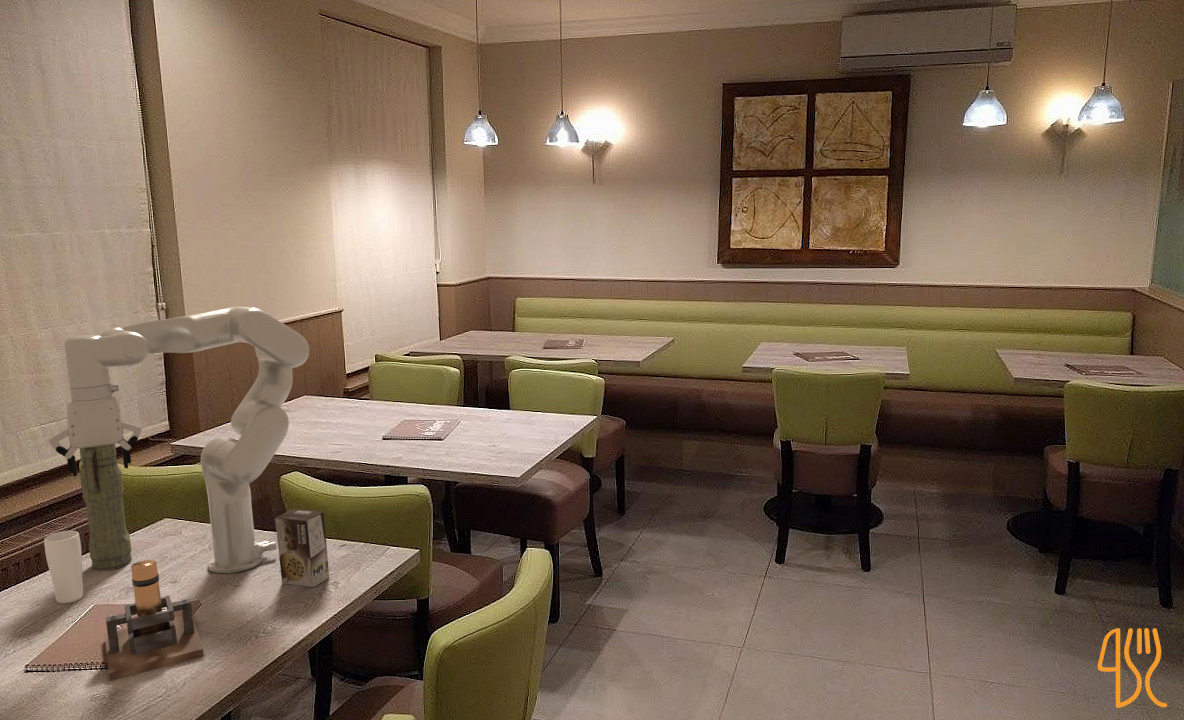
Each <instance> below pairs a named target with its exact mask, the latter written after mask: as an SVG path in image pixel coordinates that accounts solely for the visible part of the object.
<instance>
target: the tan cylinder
mask: <svg viewBox="0 0 1184 720" xmlns="http://www.w3.org/2000/svg"><path fill="white" fill-rule="evenodd" d="M157 563H158V561H156V560H154V559H146V560H145V559H144V560H140V561H137V562H135V563H133V564H131V566H130V571H131V581H132V582H131V583H132V586H133V594H134V603H136V611H137V614H136V617H140V616H145V615H149V614H153V613H157V612H162V611H163V608H162V605H161V591H160V574H159V572H158V564H157ZM161 631H165V630H164V623H160V624H156V625H152V626H148V627H143V628H139V636H144V635H149V634H153V633H157V632H161Z"/></svg>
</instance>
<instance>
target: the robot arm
mask: <svg viewBox="0 0 1184 720" xmlns="http://www.w3.org/2000/svg"><path fill="white" fill-rule="evenodd" d="M236 343H237V344H238V343H245V344H249V345H251V346H253V347H254V352H255V355H256V358H257V362H258V374H257V377H256V379H255V381H254V382H253V384H252V386H251V387H250V389H249V390H248V392H247V393H246V394H245V396H244V397H243V399H242V400H241V402H240V403H239V404H238V406H237V408H236V409H235V411H234V412H233V413H232V416H231V418H230V419H231V420H230V425H231V428H232V430H233V431H234V433H236V434H237V435H238V436H240V437H239V438H238V439H235V438H232V437H227V436H220V437H216V438H213V439H212V440H211V439H210V440H209V441H208V442H207V443H206V444H205V445H204V447H203V448H202V451H201V454H200V468H201V470H202V473H203V479H204V482H205V488H206V493H207V500H208V510H209V511H208V512H209V518H210V529H211V531H210V532H211V538H212V540H211V541H212V548H213V557H212V558H211V559H209V561H207V568H208V570H209V571H211V572H213V573H215V574H216V573H217V574H232V573H233V574H234V573H238V572H243V571H246V570H249V569H252V568H255V567H257V566H258V565H259V564H262V562H263V561H264V552H270V551H275V550H277V543H276V541H273V542H269V541H268V540H266V541H262V542H258V541H257V540H256V537H255V526H254V518H253V509H252V508H253V507H252V494H251V493H252V492H251V487H250V484H251V483H252V482H254V481H256V479H258V477H260V476H261V474H262V473H263V472H264V471H265V470H266V467H267V466H268V465H269V463H270V462H271V460H272V459H273V457H274V455H275V454H276V453H277V451H278V449H279V448H280V446H281V445H282V444H283V442H284V440H285V438H286V436H287V435H288V431H289V426H290V424H289V423H290V420H289V416H288V414H287V412H286V411H285V410H284V409H283V408H282V407H283V405H284V404H285V401H286V399H288V397H289V394H290V392H291V391H292V390H291V389H292V387H293V383H294V382H293V379H294V377H293V376H294V375H293V369H294V368H298V367H300V366H302V365H303V364H305V363H306V361H307V360H308V358H309V355H310V345H309V343H308V341H307V340H306V338H305V337H304V336H303V335H302V334H300V333H299V332H297V331H296V330H295V329H292V328H291V327H289V326H288V325H287V324H285V323H283V322H282V321H280V320H279V319H277V318H275V317H274V316H272V315H270V314H269V313H268V312H266V311H264V310H262V309H260V308H256V307H249V306H230V307H226V308H225V307H224V308H221V309H216V310H215V309H214V310H210V311H205V312H199V313H194V314H188V315H184V316H183V315H181V316H177V317H170V318H166V319H165V318H164V319H159V320H158V319H157V320H151V321H144V322H139V323H138V322H137V323H133V324H128V325H123V326H116V327H113V328H109V329H106V330H104V331H103V332H101V333H100V334H99V335H98V334H84V335H83V334H81V335H75V336H70V337H67V339H65V341H64V343H63V344H64V347H63V348H64V354H65V355H64V356H65V361H66V369H67V377H68V378H67V379H68V383H69V384H68V386H69V393H70V400H68V401H67V405H66V422H67V428H65V429H64V430H62V431H61V432H58V433H57V434H55V435H54V436H52V437H51V438H49V440H48V443H49V445H50V446H51V447H52V448H53V449H54V450H55V452H56V453H58V454H60V455H61V456H63V458H64V457H65V459H66V461H67V469H68V473H72V476H73V478H74V477H77V476H78V470H77V464H76V463H77V462H76V455H75V453H76V452H77V451H78V449H79V448H87V447H94V446H102V445H109V444H115V445H116V444H118V445H119V446H120V447H121V448H122V449H121V453H122V460H123V467H124V469H129V464H131V463H132V458H131V451H130V450H131V449H132V447H133V446H134V445H135V444H136V443H137V442H138V440H139V438H140V435H141V433H142V430H143V428H142V426H139V425H136V424H132V423H129V422H125V421H122V416H121V410H120V407H119V406H120V404H119V403H118V399H117V397H116V395H113V394H114V393H116V392H119V391H120V388H119V385H118V384H116V385H115V384H112V383H111V378H110V377H111V376H110V371H109V370H110V369H109V367H134V366H137V365H139V364H142V363H143V362H145V361H146V360H147V358H149V355H154V354H165V353H169V354H170V353H174V354H175V353H176V354H187V353H190V354H191V353H196V352H202V351H206V350H208V349H213V348H214V349H215V348H218V347H223V346H227V345H232V344H236ZM124 430H128V431H131V432H132V435H131V437H130V438H129V439H128V440H126V439H125V438H124ZM67 437H68V441H69V445H70V446H69V447H68V448H65V446H63V445H61V444H60V443H59V442H60V441H61V440H63V439H65V438H67Z"/></svg>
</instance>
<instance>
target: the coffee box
mask: <svg viewBox="0 0 1184 720" xmlns="http://www.w3.org/2000/svg"><path fill="white" fill-rule="evenodd" d="M274 520H275V529H276V539H277V547H278V557H279V568H280V577H281V584H285V585H293V586H300V587H308V588H309V587H310V588H314V587H315V588H316V587H317V586H318V585H320V584H321V583H322V582H324V581H326V580H327V579H329V578H330V572H329V558H328V548H327V547H328V546H327V538H326V537H327V535H326V526H325V525H326V523H325V512H324V511H321V510H320V511H319V510H308V509H297V508H296V509H295V508H291V509H289V510H287V511H286V512H283V513H282V514H280V515H278V516H276V517H275V518H274Z"/></svg>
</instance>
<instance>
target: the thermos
mask: <svg viewBox="0 0 1184 720" xmlns="http://www.w3.org/2000/svg"><path fill="white" fill-rule="evenodd" d="M116 447H117V446H116V443H115V444H109V445H102V446H94V447H87V448H78V449H79V456H80V460H81V462H82V463H81V472H80V473H81V474H80V476H79V479H80V486H81V487H80V488H81V492H82V500H83V501H84V502H85V505H86V506H85V507H86V515H87V522H88V529H89V541H88V550H89V558H90V560H91V563H92V564H91V566H92V567H91V568H92V569H93V570H94V571H97V572H99V571H100V572H101V571H104V572H105V571H110V570H111V571H112V570H117V569H119V567H120V568H122V566H123V567H125V566H127V565H129V564H130V563H132V561H131V560H133V559H132V558H133V557H132V553H131V552H132V544H131V543H132V542H131V536H130V533H129V530H128V529H127V525H126V516H125V508H124V500H123V495H124V493H125V490H124V489H125V488H124V481H123V474H122V470H121V468H120V466H119V464H118V460H117V449H116ZM129 562H130V563H129ZM128 563H129V564H128ZM126 564H127V565H126ZM124 565H125V566H124Z"/></svg>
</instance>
